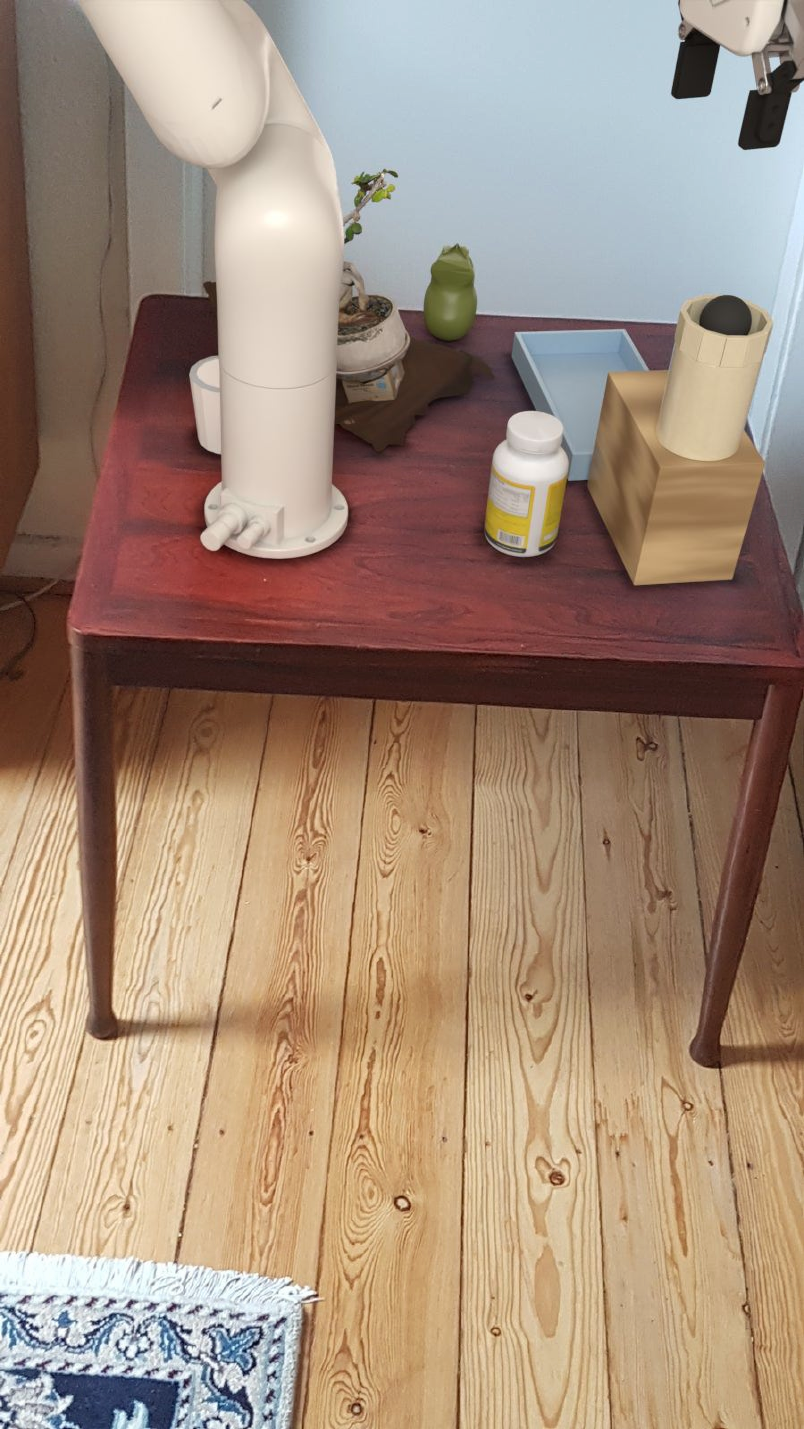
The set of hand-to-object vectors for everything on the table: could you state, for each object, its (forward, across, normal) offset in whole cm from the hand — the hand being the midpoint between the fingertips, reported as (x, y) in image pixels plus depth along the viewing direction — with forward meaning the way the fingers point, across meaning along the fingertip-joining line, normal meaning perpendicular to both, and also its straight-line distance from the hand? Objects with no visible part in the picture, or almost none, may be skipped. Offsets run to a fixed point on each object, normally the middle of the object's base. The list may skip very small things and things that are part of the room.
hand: (722, 121), depth 106 cm
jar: (+24, +5, 0) cm, 25 cm away
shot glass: (+36, -23, -32) cm, 53 cm away
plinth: (+36, +2, +1) cm, 36 cm away
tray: (+36, -18, +5) cm, 40 cm away
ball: (+13, +6, 0) cm, 14 cm away
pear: (+36, -36, -4) cm, 51 cm away
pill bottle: (+36, 0, -12) cm, 38 cm away
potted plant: (+36, -29, -17) cm, 49 cm away
